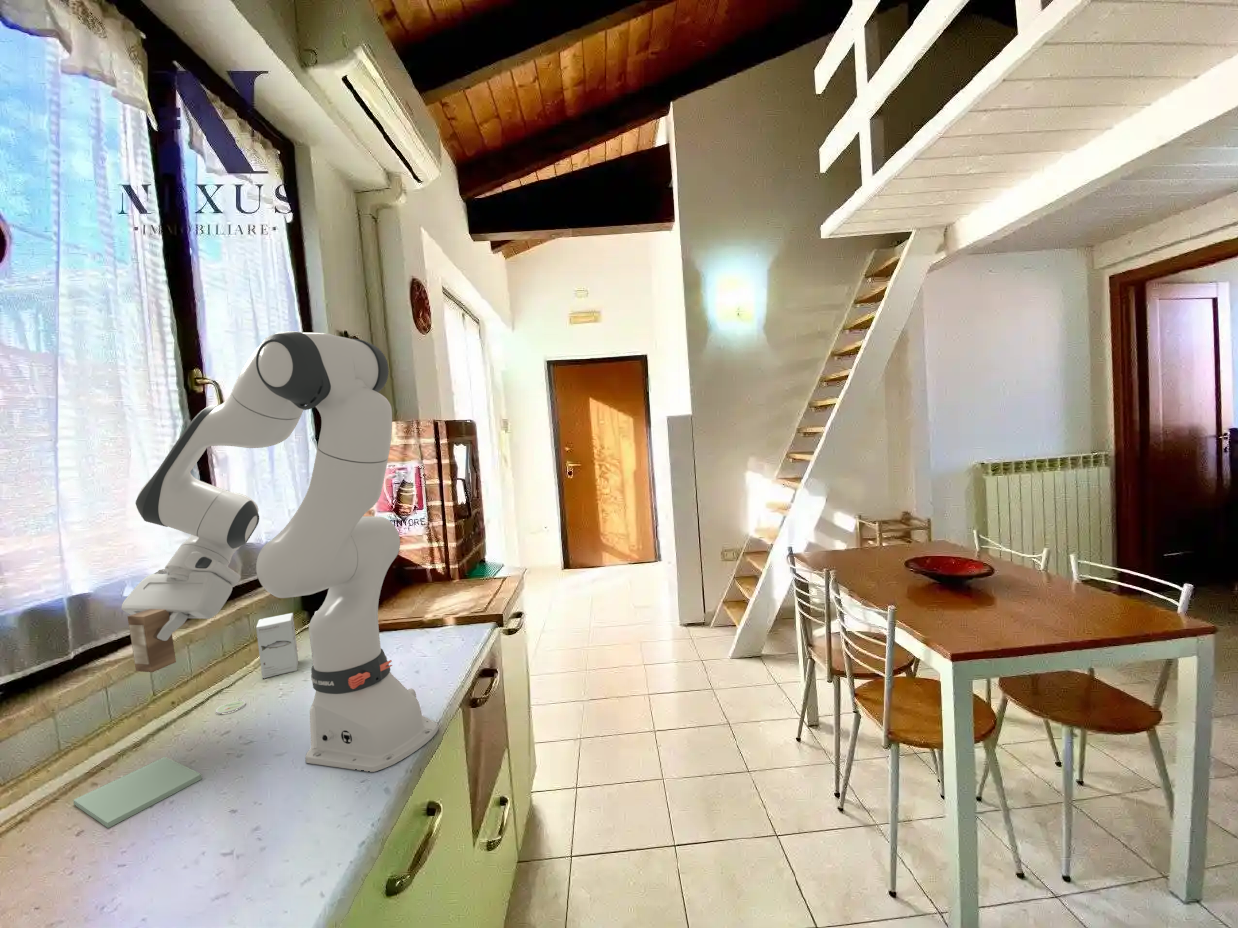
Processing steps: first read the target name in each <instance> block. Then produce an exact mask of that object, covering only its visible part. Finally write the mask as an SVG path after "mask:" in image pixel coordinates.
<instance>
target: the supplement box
mask: <svg viewBox="0 0 1238 928" xmlns="http://www.w3.org/2000/svg"><path fill="white" fill-rule="evenodd" d="M294 620H295V619H294V612H290V613H285V614H279V615H274V616H270V617H264V618H260V619H258V621H257V624H256V627H255V628H256V629H255V630H256V637H257V646H258V654H259V662H260V670H261V679H263V678H264V679H267V678H270V677H274V676H279V675H283V674H287V673H292V672H297V671H298V666H299V656H298V644H297V637H296V636H297V635H296V630H295V629H296V628H295V622H294ZM264 679H263V680H264Z"/></svg>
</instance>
